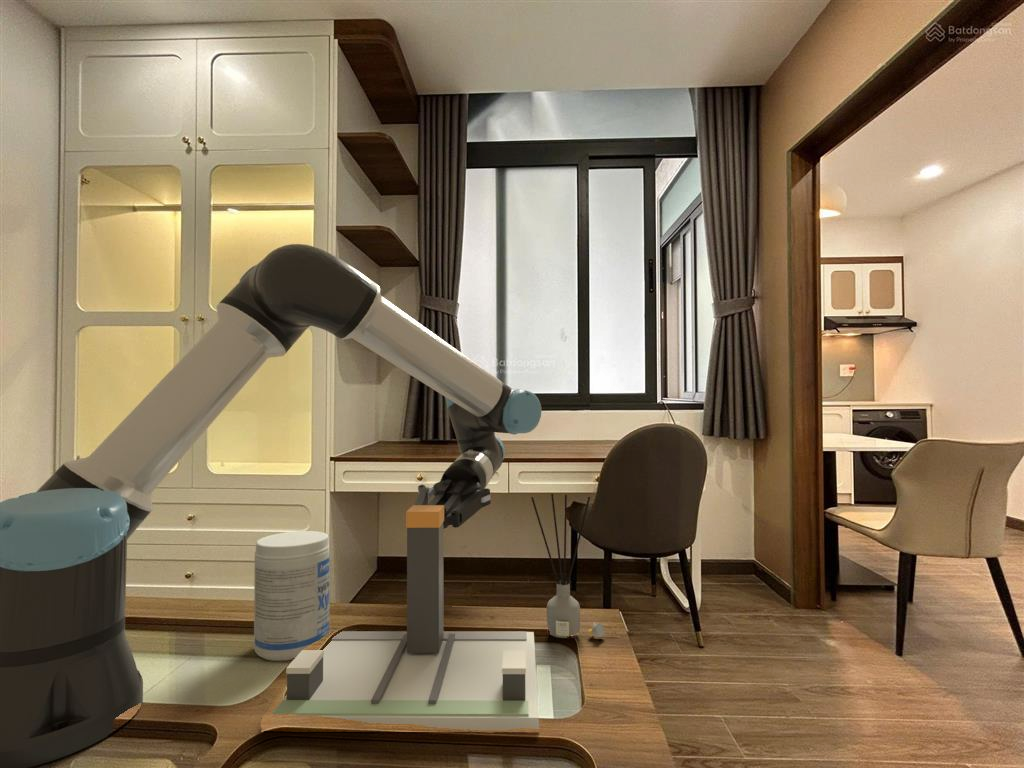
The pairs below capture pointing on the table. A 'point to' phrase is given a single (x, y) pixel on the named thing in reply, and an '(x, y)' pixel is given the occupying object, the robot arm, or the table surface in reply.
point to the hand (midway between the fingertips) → (416, 542)
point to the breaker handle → (424, 578)
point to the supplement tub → (290, 593)
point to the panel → (419, 681)
